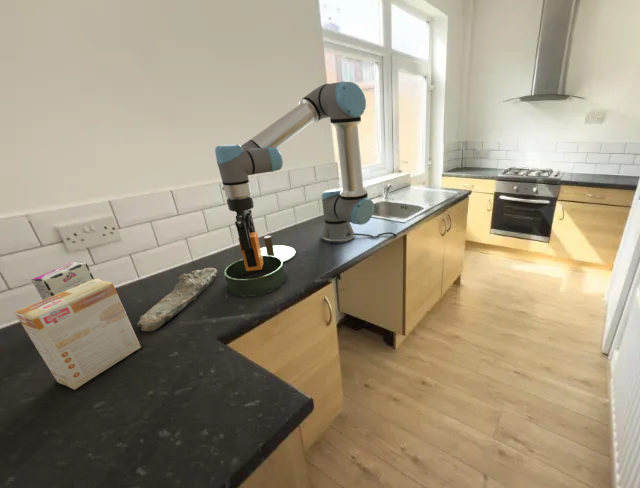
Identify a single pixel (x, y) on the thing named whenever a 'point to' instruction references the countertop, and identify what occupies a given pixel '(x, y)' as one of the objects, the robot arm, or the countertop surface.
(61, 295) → the coffeecake box
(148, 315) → the elongated rock
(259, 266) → the snack box
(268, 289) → the tin
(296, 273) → the countertop surface
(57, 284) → the candy bar box
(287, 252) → the tin lid
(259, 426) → the countertop surface
